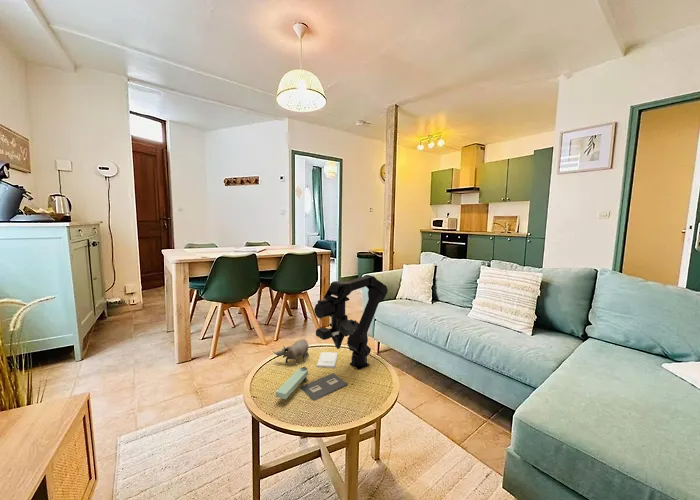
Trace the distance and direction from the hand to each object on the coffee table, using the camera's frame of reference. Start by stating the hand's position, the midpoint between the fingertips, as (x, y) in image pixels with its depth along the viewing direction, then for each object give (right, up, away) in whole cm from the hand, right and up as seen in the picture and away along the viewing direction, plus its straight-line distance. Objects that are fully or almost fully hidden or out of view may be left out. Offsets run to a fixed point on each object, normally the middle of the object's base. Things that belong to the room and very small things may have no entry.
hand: (338, 348), depth 121 cm
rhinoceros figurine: (-21, -11, +13) cm, 26 cm away
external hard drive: (-5, -11, +14) cm, 19 cm away
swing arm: (-16, -10, -10) cm, 22 cm away
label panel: (-7, -13, -5) cm, 15 cm away
